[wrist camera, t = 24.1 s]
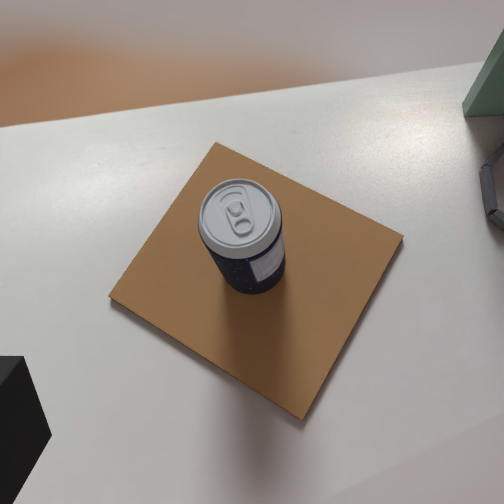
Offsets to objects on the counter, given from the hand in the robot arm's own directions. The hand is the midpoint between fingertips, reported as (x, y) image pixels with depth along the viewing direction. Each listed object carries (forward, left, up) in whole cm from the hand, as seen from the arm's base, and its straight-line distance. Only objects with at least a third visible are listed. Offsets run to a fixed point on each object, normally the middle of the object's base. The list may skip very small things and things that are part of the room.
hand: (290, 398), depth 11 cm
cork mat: (+9, -8, -28) cm, 30 cm away
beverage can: (+9, -8, -27) cm, 30 cm away
